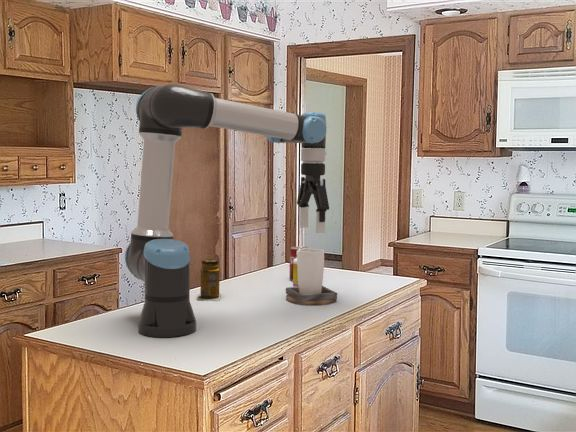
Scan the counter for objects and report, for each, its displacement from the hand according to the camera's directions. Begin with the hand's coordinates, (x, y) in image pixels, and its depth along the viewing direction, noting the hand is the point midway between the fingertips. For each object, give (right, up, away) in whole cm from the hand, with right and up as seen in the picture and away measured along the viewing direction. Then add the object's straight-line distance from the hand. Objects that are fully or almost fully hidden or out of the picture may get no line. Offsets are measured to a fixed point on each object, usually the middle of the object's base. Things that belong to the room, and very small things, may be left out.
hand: (311, 230), depth 214 cm
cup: (0, -21, +3) cm, 22 cm away
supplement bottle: (-3, -21, +20) cm, 29 cm away
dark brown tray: (0, -22, +2) cm, 22 cm away
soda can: (-3, -19, +33) cm, 38 cm away
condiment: (-33, -22, +4) cm, 40 cm away
